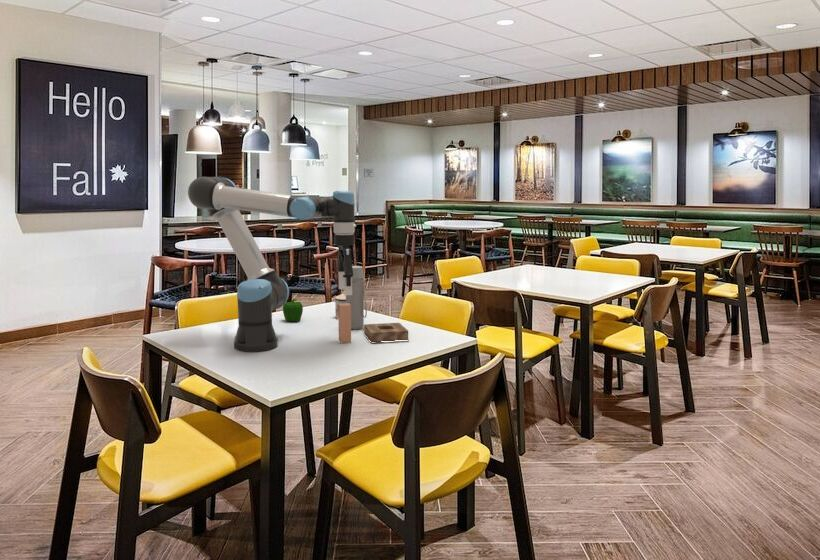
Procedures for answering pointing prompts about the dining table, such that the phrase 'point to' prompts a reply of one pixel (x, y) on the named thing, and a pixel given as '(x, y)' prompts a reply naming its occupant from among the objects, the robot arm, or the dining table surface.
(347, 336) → the peg
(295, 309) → the bell pepper
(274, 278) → the robot arm
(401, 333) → the socket block
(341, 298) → the teacup with lid
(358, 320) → the water bottle
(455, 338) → the dining table surface
